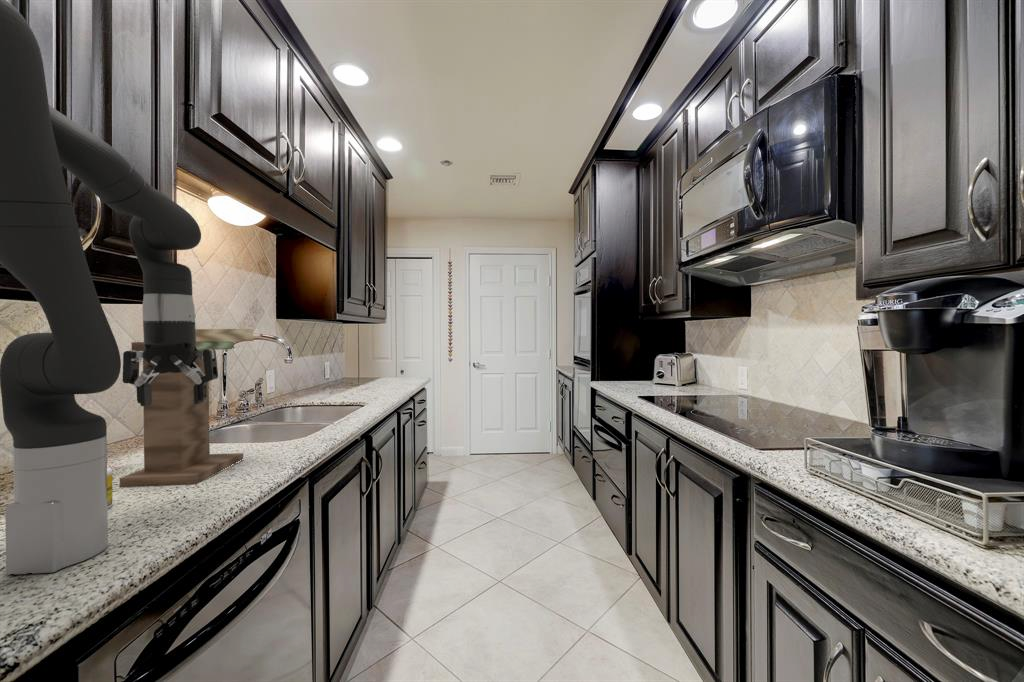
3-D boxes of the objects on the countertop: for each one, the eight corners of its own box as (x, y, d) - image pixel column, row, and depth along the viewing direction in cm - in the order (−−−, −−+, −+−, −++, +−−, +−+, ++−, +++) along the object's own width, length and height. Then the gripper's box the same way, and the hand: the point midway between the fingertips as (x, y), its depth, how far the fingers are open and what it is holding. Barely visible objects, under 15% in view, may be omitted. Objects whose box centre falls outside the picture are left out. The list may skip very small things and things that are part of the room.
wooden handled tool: (255, 341, 103) (255, 325, 103) (244, 341, 98) (243, 324, 98) (171, 342, 101) (171, 326, 101) (155, 342, 96) (155, 325, 96)
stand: (196, 484, 90) (194, 341, 90) (119, 487, 89) (117, 342, 89) (243, 460, 108) (241, 341, 108) (180, 462, 107) (178, 342, 107)
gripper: (109, 319, 71) (114, 410, 71) (203, 319, 74) (207, 406, 75) (137, 319, 78) (141, 402, 79) (222, 319, 81) (224, 399, 82)
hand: (173, 404), depth 77 cm, fingers open, 8 cm apart
